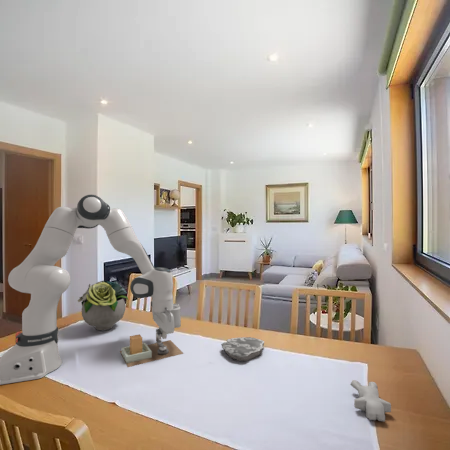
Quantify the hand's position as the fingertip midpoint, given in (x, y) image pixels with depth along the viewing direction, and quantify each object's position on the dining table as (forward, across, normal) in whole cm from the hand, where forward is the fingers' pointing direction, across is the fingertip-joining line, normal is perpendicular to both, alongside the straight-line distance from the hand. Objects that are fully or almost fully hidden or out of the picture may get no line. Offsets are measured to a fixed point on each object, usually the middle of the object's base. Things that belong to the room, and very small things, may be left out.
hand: (163, 337), depth 127 cm
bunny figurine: (+6, -69, -41) cm, 80 cm away
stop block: (+3, -4, +12) cm, 13 cm away
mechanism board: (+5, -4, +6) cm, 9 cm away
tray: (+4, -4, +12) cm, 13 cm away
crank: (+2, -3, +2) cm, 4 cm away
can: (+5, +23, -12) cm, 26 cm away
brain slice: (+6, -19, -28) cm, 34 cm away
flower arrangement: (+5, +41, +19) cm, 45 cm away
